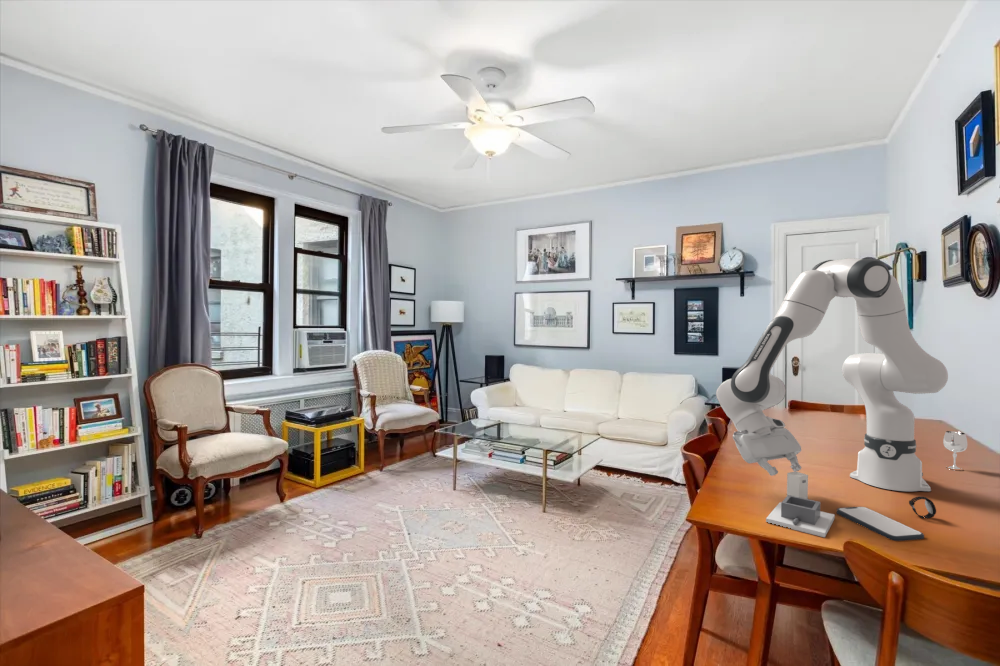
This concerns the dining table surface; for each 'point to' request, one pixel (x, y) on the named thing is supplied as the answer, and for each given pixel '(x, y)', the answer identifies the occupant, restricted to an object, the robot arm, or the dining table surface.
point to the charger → (797, 484)
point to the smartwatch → (928, 504)
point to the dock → (801, 516)
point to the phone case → (880, 523)
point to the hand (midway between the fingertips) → (786, 472)
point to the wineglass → (955, 444)
